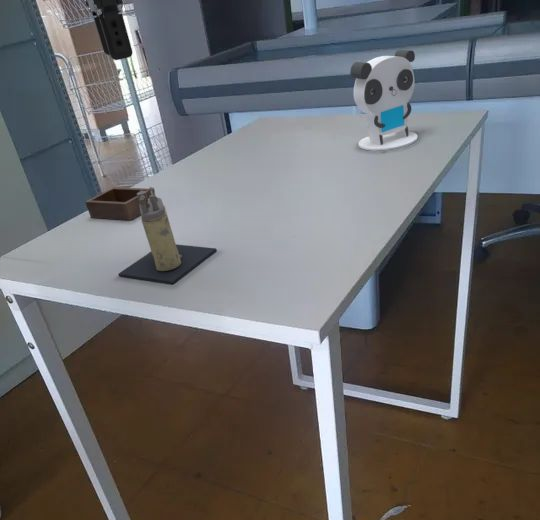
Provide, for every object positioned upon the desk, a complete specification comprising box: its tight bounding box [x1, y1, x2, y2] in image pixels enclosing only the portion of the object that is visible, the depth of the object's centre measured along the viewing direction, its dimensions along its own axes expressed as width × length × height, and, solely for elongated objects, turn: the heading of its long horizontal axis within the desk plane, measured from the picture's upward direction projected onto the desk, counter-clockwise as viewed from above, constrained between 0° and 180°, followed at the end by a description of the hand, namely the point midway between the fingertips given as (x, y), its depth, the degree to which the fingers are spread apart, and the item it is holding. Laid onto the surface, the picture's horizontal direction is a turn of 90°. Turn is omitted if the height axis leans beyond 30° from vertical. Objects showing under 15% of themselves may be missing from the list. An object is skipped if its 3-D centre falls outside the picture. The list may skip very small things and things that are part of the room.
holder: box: [84, 186, 150, 221], centre depth 98 cm, size 7×10×3 cm
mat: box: [117, 243, 217, 285], centre depth 77 cm, size 10×10×1 cm
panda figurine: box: [350, 49, 419, 152], centre depth 103 cm, size 12×11×15 cm
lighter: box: [137, 186, 182, 271], centre depth 74 cm, size 7×4×10 cm, turn 14°
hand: (118, 55), depth 59 cm, fingers open, 8 cm apart
